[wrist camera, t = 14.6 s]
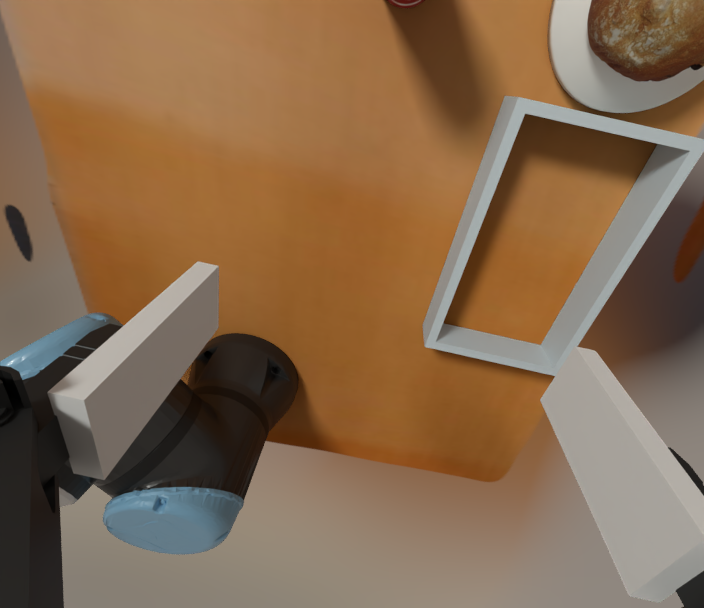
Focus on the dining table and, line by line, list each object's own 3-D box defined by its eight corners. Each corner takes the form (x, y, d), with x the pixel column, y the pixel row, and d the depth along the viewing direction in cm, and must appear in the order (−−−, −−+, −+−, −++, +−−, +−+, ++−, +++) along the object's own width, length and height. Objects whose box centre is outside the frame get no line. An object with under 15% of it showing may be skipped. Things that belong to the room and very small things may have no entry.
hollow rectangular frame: (544, 352, 47) (557, 376, 43) (422, 325, 47) (424, 346, 43) (674, 134, 34) (710, 140, 30) (504, 95, 34) (518, 96, 30)
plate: (678, 128, 34) (687, 130, 33) (517, 92, 34) (521, 92, 33) (816, -103, 26) (833, -110, 25) (608, -151, 26) (616, -161, 25)
